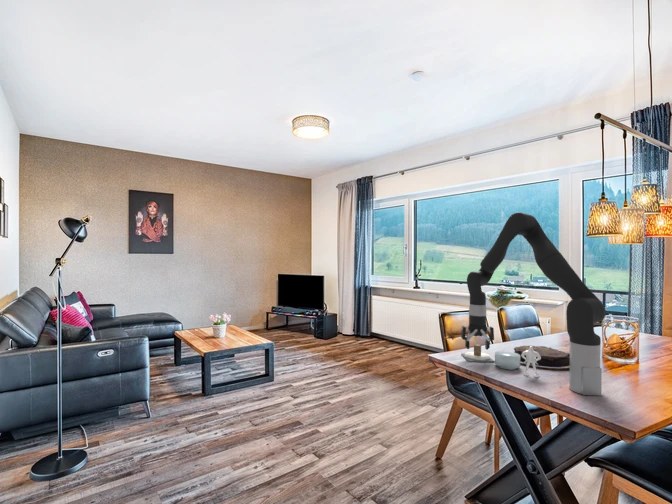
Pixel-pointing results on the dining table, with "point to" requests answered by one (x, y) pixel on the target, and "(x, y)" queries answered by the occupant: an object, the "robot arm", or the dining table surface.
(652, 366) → the dining table surface
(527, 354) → the figurine
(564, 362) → the chocolate cake
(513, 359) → the pale green rounded block
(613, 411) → the dining table surface
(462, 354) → the mat
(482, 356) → the cover
